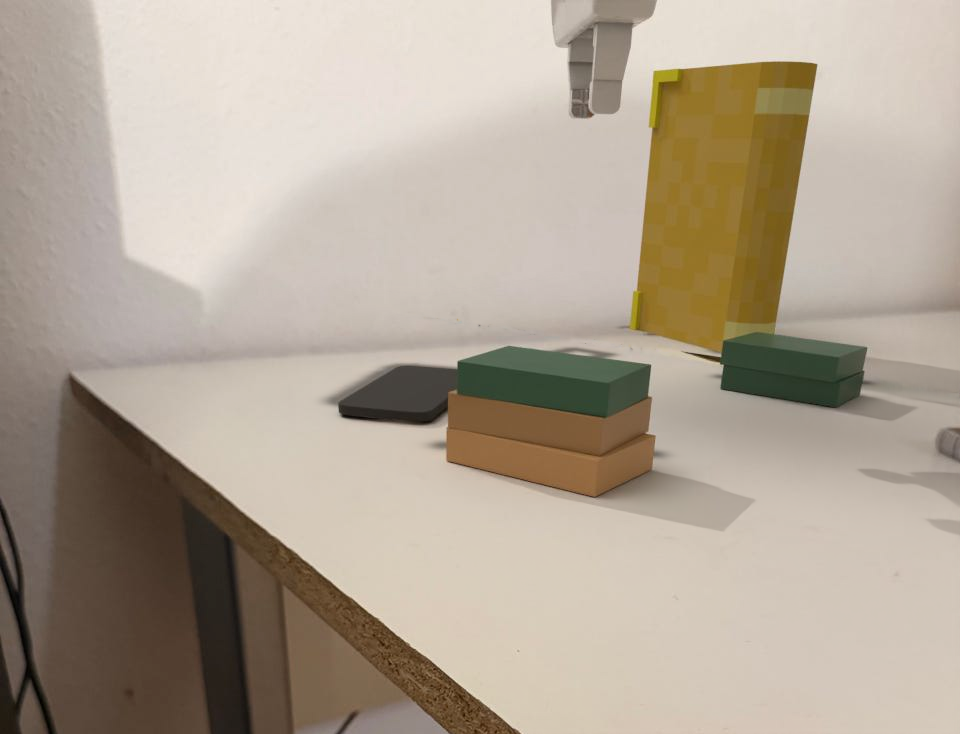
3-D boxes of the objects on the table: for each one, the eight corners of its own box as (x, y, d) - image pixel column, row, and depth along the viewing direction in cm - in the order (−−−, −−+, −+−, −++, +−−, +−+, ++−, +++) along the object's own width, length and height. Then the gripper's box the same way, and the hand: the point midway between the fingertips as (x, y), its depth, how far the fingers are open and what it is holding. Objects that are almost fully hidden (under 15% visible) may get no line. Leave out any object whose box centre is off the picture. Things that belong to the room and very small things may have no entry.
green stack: (860, 394, 81) (870, 346, 79) (834, 408, 76) (844, 357, 74) (745, 376, 87) (752, 331, 85) (713, 389, 82) (720, 341, 80)
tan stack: (655, 467, 61) (663, 398, 59) (594, 497, 55) (600, 422, 53) (510, 436, 66) (512, 372, 64) (441, 460, 61) (441, 390, 59)
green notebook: (648, 397, 59) (651, 364, 58) (606, 418, 54) (609, 382, 53) (507, 376, 63) (508, 345, 62) (456, 394, 58) (456, 360, 57)
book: (628, 337, 103) (653, 70, 92) (678, 334, 106) (708, 75, 95) (732, 367, 90) (776, 59, 79) (785, 362, 93) (836, 65, 82)
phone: (332, 404, 70) (399, 364, 82) (332, 415, 70) (399, 374, 83) (428, 413, 68) (482, 371, 81) (428, 425, 68) (482, 381, 81)
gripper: (706, -197, 49) (673, 112, 55) (630, -102, 67) (611, 121, 73) (584, -203, 48) (565, 108, 55) (540, -107, 66) (530, 119, 73)
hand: (591, 116), depth 64 cm, fingers open, 8 cm apart
